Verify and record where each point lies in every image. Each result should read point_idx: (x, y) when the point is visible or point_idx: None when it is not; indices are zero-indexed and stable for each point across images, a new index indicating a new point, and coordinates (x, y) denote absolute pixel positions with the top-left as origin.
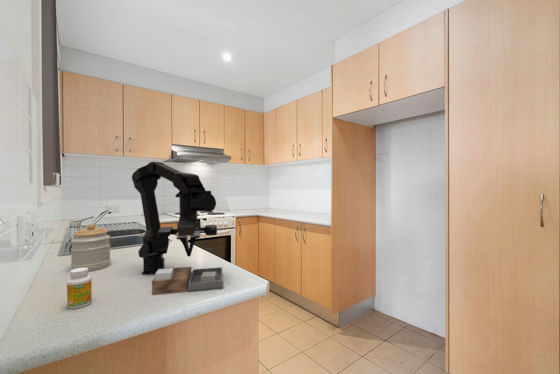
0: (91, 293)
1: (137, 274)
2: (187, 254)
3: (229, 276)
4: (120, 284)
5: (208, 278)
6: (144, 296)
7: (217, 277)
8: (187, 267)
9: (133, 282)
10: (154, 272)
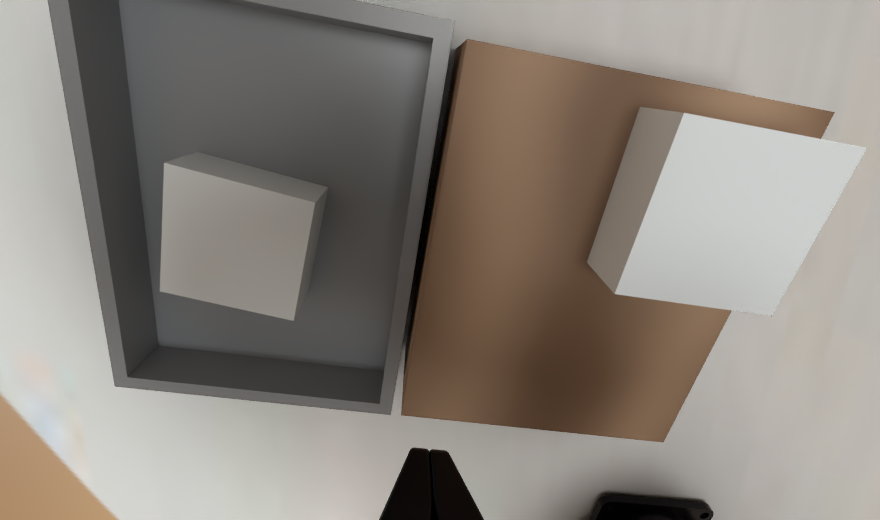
0: None
1: (728, 515)
2: (452, 472)
3: (80, 270)
4: (857, 394)
5: (244, 174)
6: (789, 94)
7: None
8: (438, 405)
9: (781, 400)
10: (641, 503)
